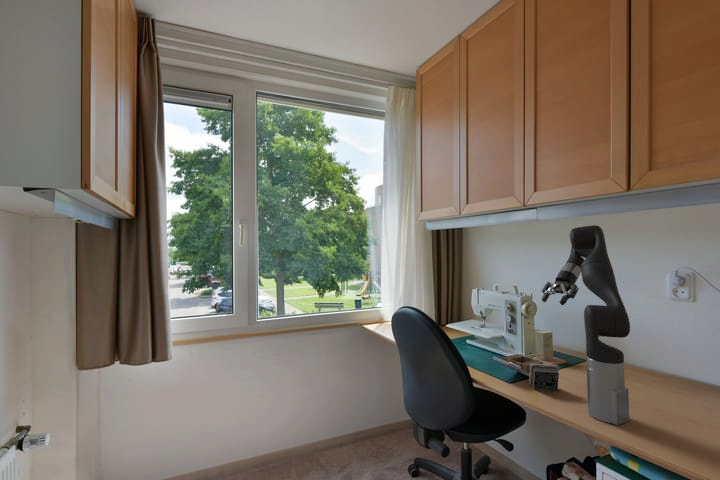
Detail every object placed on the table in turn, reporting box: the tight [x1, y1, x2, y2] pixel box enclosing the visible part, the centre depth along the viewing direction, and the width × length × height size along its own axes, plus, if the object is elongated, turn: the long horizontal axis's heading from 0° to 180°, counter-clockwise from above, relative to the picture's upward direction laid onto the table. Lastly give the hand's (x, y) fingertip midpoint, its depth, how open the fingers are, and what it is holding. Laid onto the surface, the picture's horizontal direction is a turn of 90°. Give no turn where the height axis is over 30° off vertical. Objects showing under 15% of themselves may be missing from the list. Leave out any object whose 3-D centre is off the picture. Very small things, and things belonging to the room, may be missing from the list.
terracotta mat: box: [532, 356, 567, 366], centre depth 151 cm, size 12×12×1 cm
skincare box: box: [534, 329, 554, 361], centre depth 151 cm, size 6×4×12 cm
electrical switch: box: [528, 363, 560, 392], centre depth 121 cm, size 9×5×9 cm, turn 75°
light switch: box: [492, 356, 530, 377], centre depth 132 cm, size 8×6×14 cm
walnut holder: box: [502, 353, 543, 373], centre depth 144 cm, size 12×10×3 cm
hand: (552, 302), depth 148 cm, fingers open, 8 cm apart
